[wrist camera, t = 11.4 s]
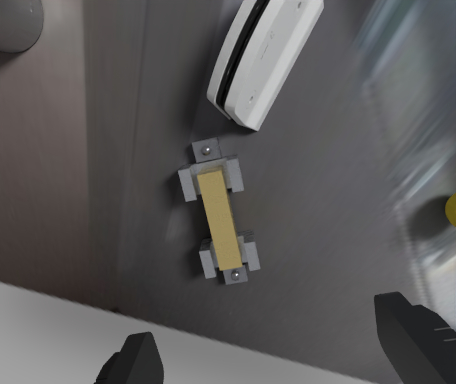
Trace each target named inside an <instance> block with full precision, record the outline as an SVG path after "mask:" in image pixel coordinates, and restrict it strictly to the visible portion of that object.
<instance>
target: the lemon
mask: <svg viewBox="0 0 456 384" xmlns="http://www.w3.org/2000/svg"><path fill="white" fill-rule="evenodd" d="M445 213H446V216H447V218H448V220H449V221H450V223H451V224H453V225H454V226H455V227H456V193H455V194H454V195H452V196H451V197H450V198H449V199H448V201H447V203H446V206H445Z"/></svg>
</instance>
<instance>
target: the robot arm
mask: <svg viewBox="0 0 456 384" xmlns="http://www.w3.org/2000/svg"><path fill="white" fill-rule="evenodd" d="M42 27H43V9H42V4H41V1H40V0H0V51H3V52H7V53H17V52H21V51H24V50H26V49H28V48H30V47H31V46H32V45H33V44H34V43H35V42H36V40H37V39H38V37H39V36H40V33H41V30H42ZM374 304H375V314H376V324H377V333H378V337H379V341H380V344H381V346H382V348H383V350H384V352H385V354H386V356H387V357H388V359H389V361H390V362H391V364H392V365H393V367H394V369H395V370H396V372H397V373H398V375H399V377H400V378H401V380H402V381H403V383H404V384H456V332H455V331H454V330H453V329H451V328H450V326H449V325H448V324H447V323H446V322H445V321H444V320H443V319H442V318H441V317H440V316H439V315H438V314H437V313H435V312H433V311H431V310H430V309H428V308H426V307H424V306H422V305H414V306H412V305H411V304H410V303H409V302H408V301H407V299H406V298H405V297H404V296H403V295H402V294H401V293H400V292H391V293H385V294H379V295H375V297H374ZM163 380H164V370H163V364H162V362H161V358H160V355H159V352H158V349H157V346H156V343H155V340H154V337H153V335H152V333H151V332H145V333H138V334H132V335H129V336H128V337H127V339H126V341H125V343H124V345H123V347H122V349H121V351H120V352H116V353H114V354H113V356H112V357H111V358H110V359H109V360H108V361H107V362H106V363H105V364H104V365H103V367H102V369H101V371H100V373H99V375H98V377H97V379H96V382H95V383H94V384H163Z"/></svg>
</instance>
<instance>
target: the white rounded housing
mask: <svg viewBox="0 0 456 384" xmlns="http://www.w3.org/2000/svg"><path fill="white" fill-rule="evenodd" d="M323 8H324V5H323V0H244V1H243V3H242V5H241V7H240V9H239V11H238V13H237V15H236V17H235V19H234V21H233V23H232V25H231V27H230V30H229V32H228V34H227V36H226V39H225V41H224V44H223V46H222V49H221V51H220V54H219V57H218V59H217V62H216V65H215V68H214V71H213V74H212V77H211V80H210V84H209V87H208V91H207V98H208V99H209V100H210V101H211V102H212V103H213V104H214V105H215V106H216V107H217V108H218V109H219V110H220V111H221V112H222V113H223V114H224V115H225V116H226V117H227V118H228V119H229V120H230V119H231V118H232V119H234V121H235V122H236V123H237V124H238V125H241V126H244V127H247V128H250V129H253V130H256V131H258V130H259V128H260V126H261V124H262V122H263V121H264V119H265V117H266V115H267V113H268V111H269V109H270V107H271V106H272V104H273V102H274V100H275V98H276V96H277V94H278V93H279V91H280V89H281V87H282V85H283V83H284V81H285V79H286V78H287V76H288V74H289V72H290V70H291V68H292V66H293V64H294V63H295V61H296V59H297V57H298V55H299V53H300V51H301V49H302V48H303V46H304V44H305V42H306V40H307V38H308V36H309V34H310V33H311V31H312V29H313V27H314V25H315V23H316V21H317V20H318V18H319V16H320V14H321V12H322V10H323Z"/></svg>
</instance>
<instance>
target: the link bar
mask: <svg viewBox="0 0 456 384" xmlns="http://www.w3.org/2000/svg"><path fill="white" fill-rule="evenodd" d="M197 178H198V182H199V186H200V190H201V194H202V198H203V202H204V207H205V211H206V215H207V219H208V223H209V227H210V231H211V235H212V239H213V244H214V248H215V252H216V256H217V260H218V264H219V268H220V271H221V270H227V269H233V268H238V267H243V266H242V253H241V249H240V244H239V239H238V235H237V230H236V226H235V221H234V217H233V212H232V207H231V203H230V198H229V194H228V189H227V185H226V180H225V175H224V171H223V166H221V167H216V168H211V169H206V170H202V171H200V172H199V173H198V175H197Z"/></svg>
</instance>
